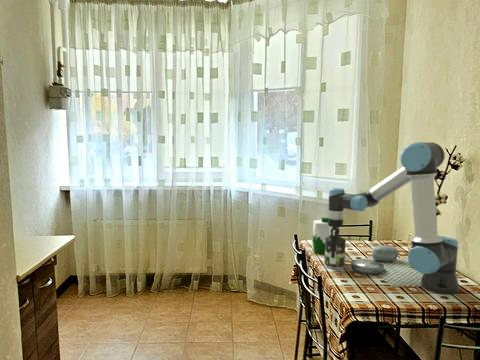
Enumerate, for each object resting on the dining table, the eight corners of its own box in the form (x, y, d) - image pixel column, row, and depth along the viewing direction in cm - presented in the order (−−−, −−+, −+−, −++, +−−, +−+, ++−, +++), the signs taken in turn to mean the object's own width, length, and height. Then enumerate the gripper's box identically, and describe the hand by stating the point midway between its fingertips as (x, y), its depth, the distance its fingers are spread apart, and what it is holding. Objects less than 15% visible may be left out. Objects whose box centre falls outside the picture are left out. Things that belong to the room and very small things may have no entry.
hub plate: (390, 272, 187) (391, 266, 186) (366, 276, 180) (366, 271, 180) (367, 262, 201) (367, 257, 201) (343, 266, 194) (344, 261, 194)
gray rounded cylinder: (396, 251, 209) (394, 238, 204) (401, 264, 201) (399, 251, 196) (370, 255, 212) (368, 242, 207) (374, 268, 205) (372, 255, 199)
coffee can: (344, 270, 189) (345, 242, 187) (323, 267, 192) (324, 240, 190) (345, 263, 199) (346, 237, 197) (325, 261, 202) (325, 235, 200)
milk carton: (329, 254, 214) (331, 220, 212) (313, 254, 214) (314, 219, 212) (326, 249, 223) (328, 216, 220) (311, 249, 223) (312, 216, 221)
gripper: (330, 213, 204) (329, 253, 207) (325, 222, 183) (323, 266, 186) (345, 214, 202) (343, 254, 204) (341, 223, 181) (339, 268, 183)
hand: (333, 260), depth 195 cm, fingers closed on coffee can, 10 cm apart
